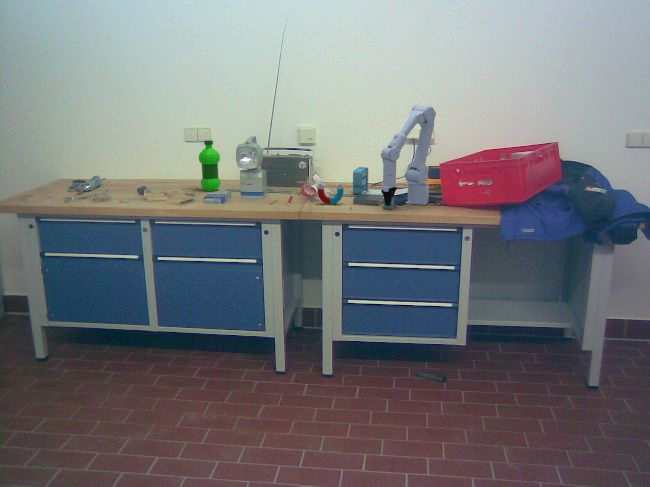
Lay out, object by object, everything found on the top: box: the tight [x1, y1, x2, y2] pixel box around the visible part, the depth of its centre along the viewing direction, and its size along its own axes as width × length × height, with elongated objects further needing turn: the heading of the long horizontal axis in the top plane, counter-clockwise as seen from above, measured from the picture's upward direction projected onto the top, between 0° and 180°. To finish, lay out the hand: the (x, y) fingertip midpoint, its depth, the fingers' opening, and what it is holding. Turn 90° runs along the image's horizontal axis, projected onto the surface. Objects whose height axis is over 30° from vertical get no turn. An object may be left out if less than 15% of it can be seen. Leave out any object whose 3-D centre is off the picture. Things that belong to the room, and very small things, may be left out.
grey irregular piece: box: [67, 175, 107, 195], centre depth 332 cm, size 6×28×16 cm
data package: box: [352, 166, 369, 195], centre depth 323 cm, size 12×4×12 cm, turn 161°
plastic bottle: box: [198, 139, 222, 192], centre depth 327 cm, size 10×10×25 cm
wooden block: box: [382, 196, 395, 210], centre depth 292 cm, size 4×4×4 cm
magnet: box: [317, 181, 344, 206], centre depth 298 cm, size 12×3×10 cm, turn 86°
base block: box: [352, 193, 384, 207], centre depth 303 cm, size 12×12×2 cm
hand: (388, 204), depth 293 cm, fingers closed on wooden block, 4 cm apart
